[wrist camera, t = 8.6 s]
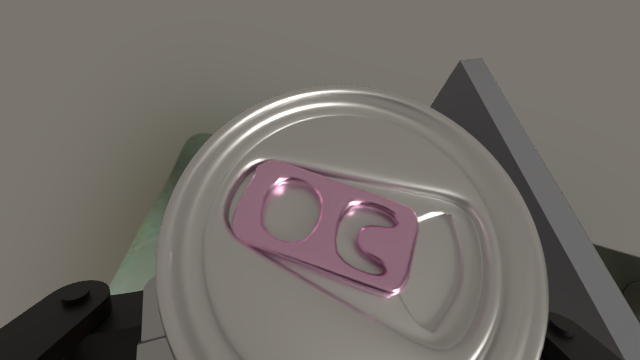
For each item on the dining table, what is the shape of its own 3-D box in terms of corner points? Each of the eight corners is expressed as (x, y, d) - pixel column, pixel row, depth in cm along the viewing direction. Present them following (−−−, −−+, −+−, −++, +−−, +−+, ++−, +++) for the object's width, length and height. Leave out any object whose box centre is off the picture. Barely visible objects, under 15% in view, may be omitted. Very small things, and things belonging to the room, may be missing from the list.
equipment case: (370, 212, 36) (480, 54, 15) (417, 370, 29) (733, 481, 8) (213, 240, 33) (79, 92, 12) (226, 424, 26) (-28, 809, 5)
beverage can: (279, 239, 19) (255, 37, 6) (368, 272, 19) (561, 136, 5) (238, 339, 17) (20, 387, 3) (340, 380, 16) (578, 629, 3)
